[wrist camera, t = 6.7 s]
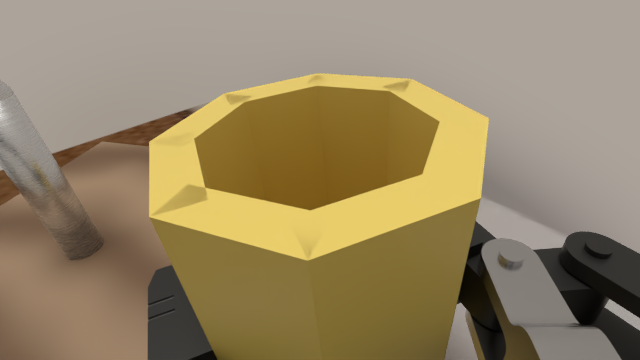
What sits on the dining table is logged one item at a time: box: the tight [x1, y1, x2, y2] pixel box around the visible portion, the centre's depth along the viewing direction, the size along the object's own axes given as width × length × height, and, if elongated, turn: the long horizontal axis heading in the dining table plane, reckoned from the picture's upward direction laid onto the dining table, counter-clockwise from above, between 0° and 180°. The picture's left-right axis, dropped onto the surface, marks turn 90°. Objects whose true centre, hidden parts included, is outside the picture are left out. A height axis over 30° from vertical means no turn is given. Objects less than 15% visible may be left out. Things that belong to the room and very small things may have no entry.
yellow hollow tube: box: [149, 73, 489, 360], centre depth 10 cm, size 6×6×11 cm
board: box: [0, 142, 172, 360], centre depth 19 cm, size 20×18×1 cm
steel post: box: [0, 80, 104, 260], centre depth 16 cm, size 2×2×10 cm
